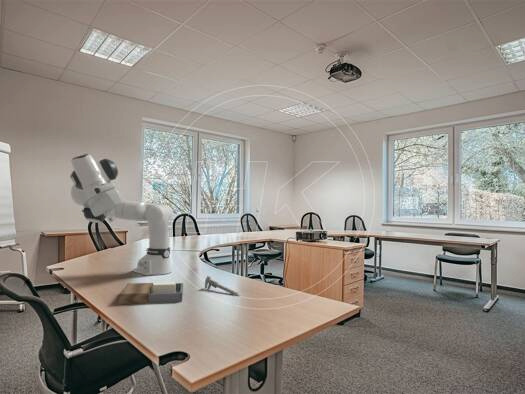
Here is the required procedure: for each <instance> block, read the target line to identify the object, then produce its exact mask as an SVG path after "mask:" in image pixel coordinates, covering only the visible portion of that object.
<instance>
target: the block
mask: <svg viewBox="0 0 525 394" xmlns="http://www.w3.org/2000/svg"><path fill="white" fill-rule="evenodd" d="M176 283H177V282H176V281H154V282H153V294H156V293H175V286H176Z"/></svg>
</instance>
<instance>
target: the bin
mask: <svg viewBox="0 0 525 394" xmlns="http://www.w3.org/2000/svg"><path fill="white" fill-rule="evenodd" d="M183 294H184V282H180V283H179V282H176V286H175V293H156V294H153V293H152V294H149V302H148V304H153V303H154V304H155V303H156V304H157V303H159V304H160V303H179V302H183Z"/></svg>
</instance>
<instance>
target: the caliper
mask: <svg viewBox="0 0 525 394" xmlns="http://www.w3.org/2000/svg"><path fill="white" fill-rule="evenodd" d="M211 278H212V276H209V275H207V277H205V280H204V289H208V290H209V289H211V287H213V288H214V289H217V288H218V289H219V290H220V289H221V290H222V291H225V292H227V293H229V294H230V295H233V296H238V297H239V296H241V294H239V292H238V291H235V290H233V289H231V288H229V287H226V286H224V285H222V284H220V283H219V282H218V281H217V280H213V279H211Z"/></svg>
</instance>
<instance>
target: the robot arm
mask: <svg viewBox="0 0 525 394" xmlns="http://www.w3.org/2000/svg"><path fill="white" fill-rule="evenodd" d="M71 163H72V168H73V171H72V172H71V174H70V179H71V181H72V183H73V185H72V186H71V190H70V196H71V199H72V201H73V202H74V203H75V204H77V205H79V206H82V207H83V209H81V212H82V213H83V217H84V218H85V219H86V220H87V221H89V222H91V223H96V224H97V223H102V222H104V221H105V219H106V218H107V219H108V221H109V222H110V223H111V222H114V221H116V220H117V219H121V220H124V221H125V220H126V221H127V220H128V221H134V222H135V221H136V222H147V227H148V233H149V239H148V240H149V242H148V245H149V247H148V248H146V249H145V251H146V254H145V255H143V256H142V257H141V258H140V259H138V262H137V266H136V267H135V268H132V272H134V273H137V274H140V275H142V276H143V275H144V276H152V275H153V276H159V275H160V276H161V275H166V274H170V273H172V267H171V259H170V258H171V257H170V254H171V247H170V241H171V240H170V238H171V237H170V236H171V235H170V234H171V233H170V230H169V225H168V223H169V222H170V221H171V220H172V218H173V216H174V209H173V208H172V207H171V206H170V205H168V204H164V203H158V202H157V203H156V202H155V203H154V202H145V201H134V200H127V199H122V197H121V195H120V194H119V191H118V190H117V189H116V184H115V183H114V182H111V181H114V180H116V178H117V176H118V174H119V169H118V167H117V165H116V163H115V162H114V161H112V160H111V159H108V158H103V159H101V160H99V161H96V160H95V159H94V158H93V156H92V155H91V154H89V153H85V154H82V155H79V156H78V155H77V156H75V157H73V158H72V159H71Z"/></svg>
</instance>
